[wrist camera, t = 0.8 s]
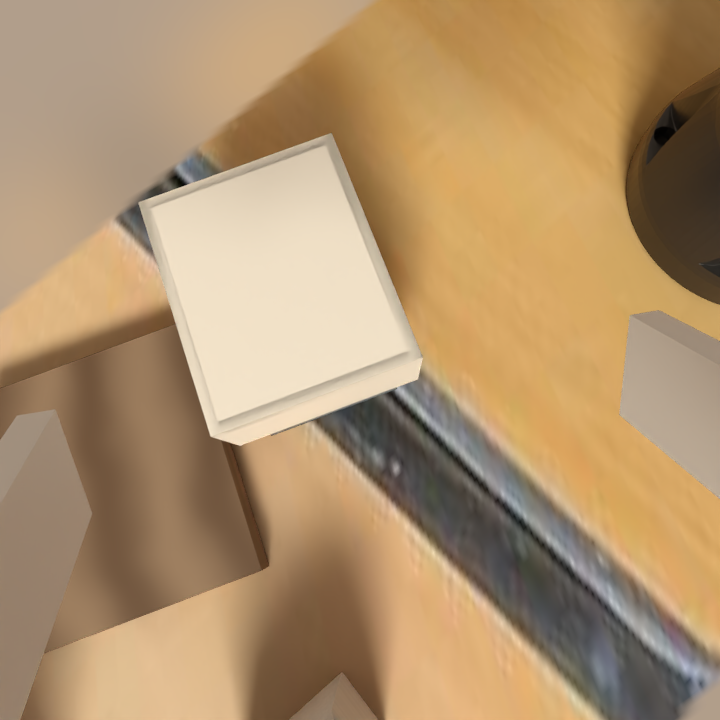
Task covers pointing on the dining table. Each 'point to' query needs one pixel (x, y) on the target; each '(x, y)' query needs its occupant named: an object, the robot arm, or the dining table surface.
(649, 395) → the robot arm
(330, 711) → the beige rectangular block
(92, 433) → the board
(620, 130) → the dining table surface
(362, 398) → the lid
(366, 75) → the dining table surface
